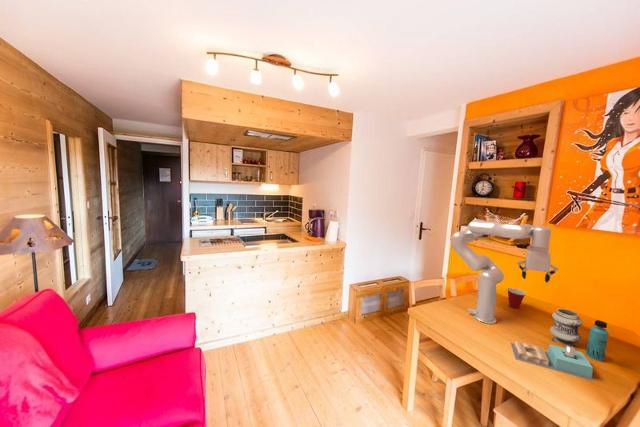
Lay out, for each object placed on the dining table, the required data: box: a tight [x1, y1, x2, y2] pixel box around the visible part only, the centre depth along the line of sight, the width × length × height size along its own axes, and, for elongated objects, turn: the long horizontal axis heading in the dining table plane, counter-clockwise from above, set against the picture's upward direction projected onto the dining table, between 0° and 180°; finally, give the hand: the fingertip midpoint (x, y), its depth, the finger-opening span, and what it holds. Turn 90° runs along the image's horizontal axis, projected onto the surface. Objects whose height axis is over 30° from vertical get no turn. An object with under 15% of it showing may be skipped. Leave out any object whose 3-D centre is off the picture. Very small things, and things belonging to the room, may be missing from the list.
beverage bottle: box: [585, 319, 610, 362], centre depth 127 cm, size 6×7×20 cm
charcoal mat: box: [510, 342, 597, 382], centre depth 125 cm, size 28×15×2 cm, turn 62°
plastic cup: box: [506, 287, 527, 310], centre depth 182 cm, size 11×11×12 cm
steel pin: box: [564, 345, 576, 359], centre depth 121 cm, size 3×3×9 cm
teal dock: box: [547, 344, 594, 378], centre depth 121 cm, size 12×12×5 cm
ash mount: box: [514, 340, 549, 366], centre depth 128 cm, size 11×11×2 cm
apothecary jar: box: [549, 308, 583, 348], centre depth 140 cm, size 12×12×18 cm
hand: (534, 279), depth 143 cm, fingers open, 9 cm apart
